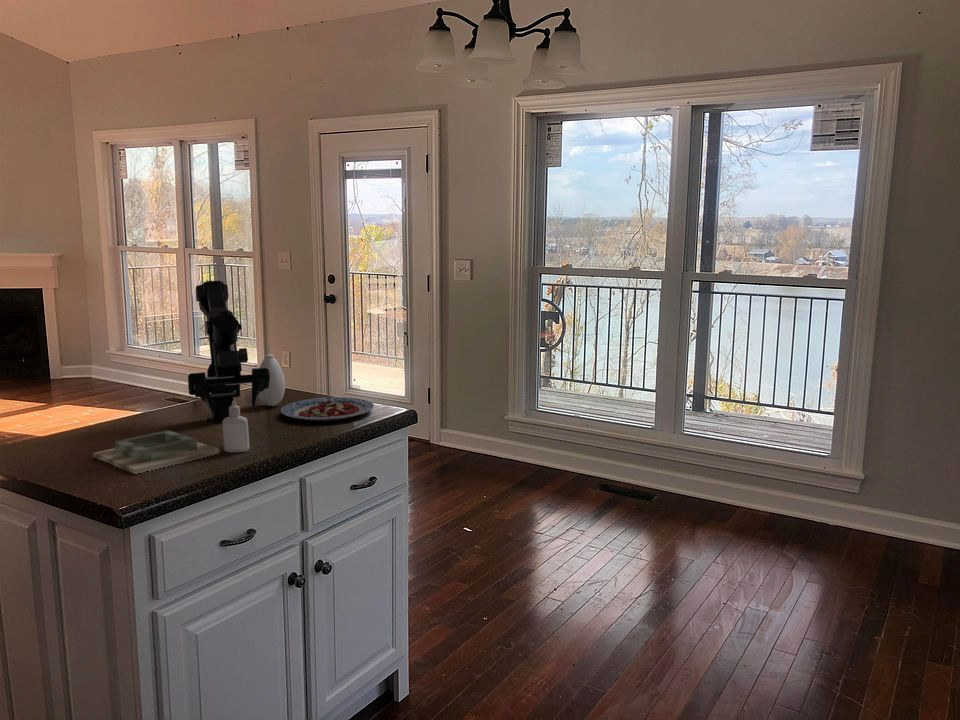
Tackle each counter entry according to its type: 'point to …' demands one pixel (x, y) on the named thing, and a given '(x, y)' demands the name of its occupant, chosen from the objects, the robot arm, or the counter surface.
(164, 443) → the bottle socket
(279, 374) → the white vase
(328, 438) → the counter surface
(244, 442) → the eye dropper bottle
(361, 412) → the ceramic plate
